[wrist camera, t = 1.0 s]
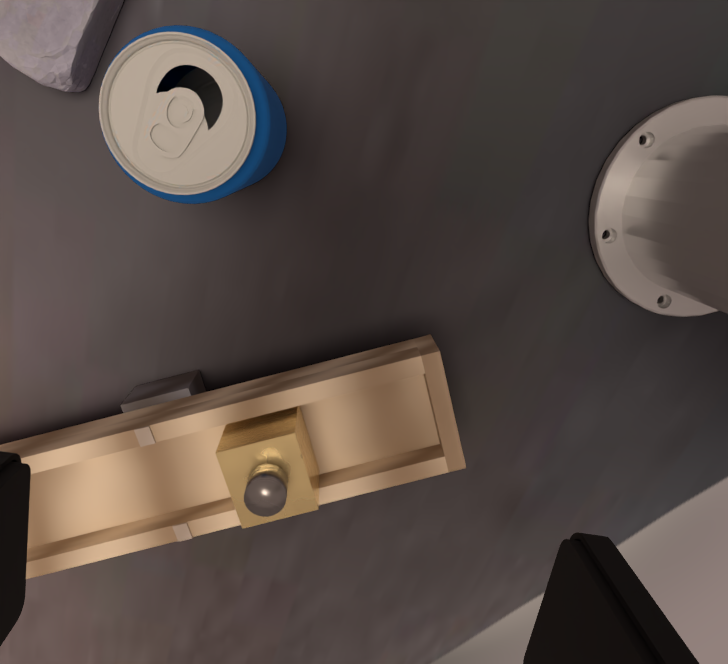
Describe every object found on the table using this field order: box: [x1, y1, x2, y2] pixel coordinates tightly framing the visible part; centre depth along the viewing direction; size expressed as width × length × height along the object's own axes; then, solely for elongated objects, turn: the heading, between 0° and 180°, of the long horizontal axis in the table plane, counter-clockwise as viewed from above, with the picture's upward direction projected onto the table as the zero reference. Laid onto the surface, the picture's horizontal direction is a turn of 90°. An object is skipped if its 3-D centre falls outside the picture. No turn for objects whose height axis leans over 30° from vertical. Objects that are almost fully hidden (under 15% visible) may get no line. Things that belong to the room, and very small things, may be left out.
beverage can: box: [99, 25, 287, 204], centre depth 28 cm, size 6×6×12 cm
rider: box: [215, 406, 320, 529], centre depth 32 cm, size 4×4×6 cm
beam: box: [0, 335, 466, 579], centre depth 36 cm, size 32×8×6 cm, turn 104°
